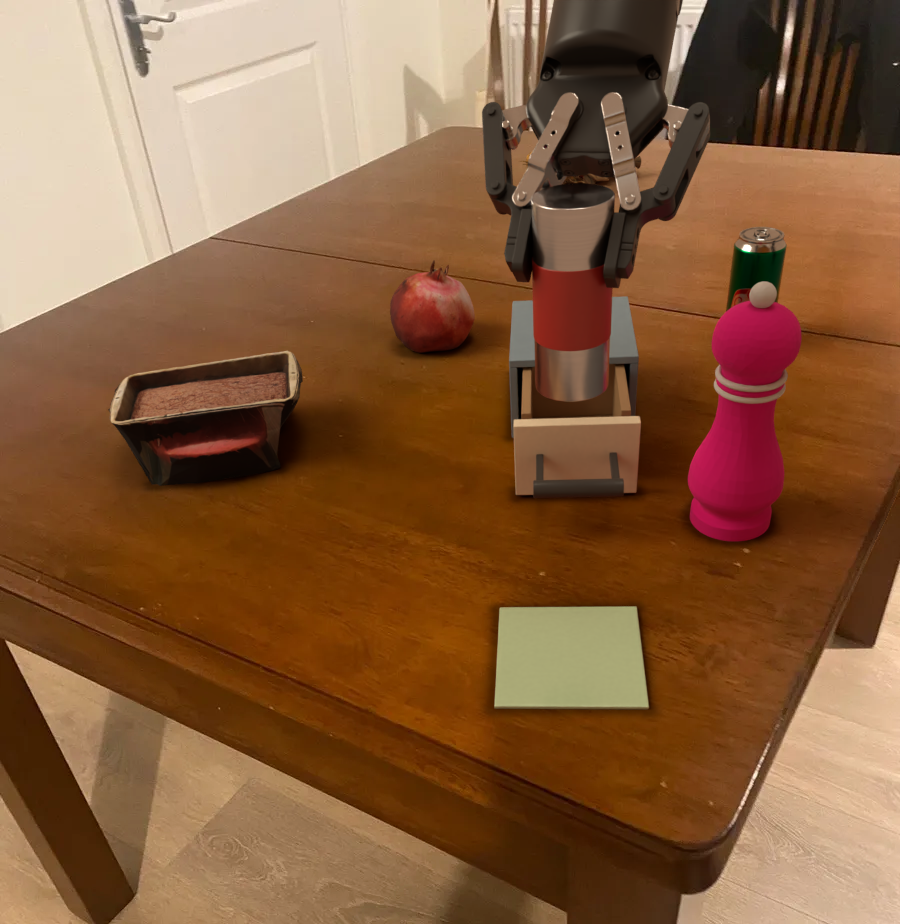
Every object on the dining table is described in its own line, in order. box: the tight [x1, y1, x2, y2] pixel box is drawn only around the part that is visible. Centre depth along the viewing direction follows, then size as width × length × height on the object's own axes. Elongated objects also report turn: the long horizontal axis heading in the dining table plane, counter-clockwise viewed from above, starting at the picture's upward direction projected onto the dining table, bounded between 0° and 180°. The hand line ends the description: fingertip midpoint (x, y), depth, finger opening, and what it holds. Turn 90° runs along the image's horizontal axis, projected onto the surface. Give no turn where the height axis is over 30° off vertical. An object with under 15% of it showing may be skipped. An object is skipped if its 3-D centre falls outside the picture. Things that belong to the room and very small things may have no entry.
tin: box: [531, 182, 616, 402], centre depth 57 cm, size 5×5×12 cm
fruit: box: [389, 259, 476, 354], centre depth 101 cm, size 9×10×10 cm
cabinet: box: [508, 295, 640, 439], centre depth 89 cm, size 13×11×8 cm
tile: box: [493, 605, 650, 710], centre depth 64 cm, size 10×10×1 cm
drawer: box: [513, 364, 642, 499], centre depth 79 cm, size 18×10×7 cm, turn 176°
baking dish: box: [107, 350, 304, 487], centre depth 87 cm, size 14×18×10 cm
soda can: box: [725, 226, 788, 312], centre depth 95 cm, size 5×5×12 cm
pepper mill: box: [687, 281, 803, 542], centre depth 68 cm, size 7×7×20 cm
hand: (565, 278), depth 54 cm, fingers closed on tin, 5 cm apart
